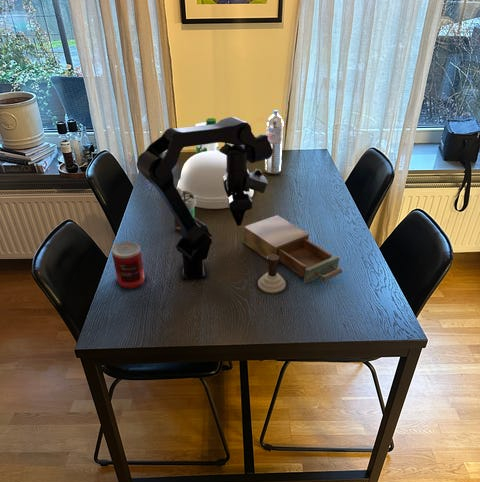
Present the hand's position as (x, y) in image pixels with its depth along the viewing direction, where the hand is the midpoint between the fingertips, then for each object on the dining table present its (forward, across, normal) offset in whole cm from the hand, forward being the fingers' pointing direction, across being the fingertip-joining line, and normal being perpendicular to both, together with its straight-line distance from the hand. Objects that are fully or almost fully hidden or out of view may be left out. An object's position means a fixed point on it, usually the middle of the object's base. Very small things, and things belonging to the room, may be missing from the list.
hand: (237, 217), depth 134 cm
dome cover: (+13, +47, +3) cm, 49 cm away
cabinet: (+13, +3, -13) cm, 19 cm away
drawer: (+12, -11, -21) cm, 26 cm away
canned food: (+13, -10, +32) cm, 36 cm away
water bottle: (+14, +63, -23) cm, 69 cm away
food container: (+8, +21, +14) cm, 26 cm away
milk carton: (+14, +71, +4) cm, 72 cm away
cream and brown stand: (+13, -17, -8) cm, 23 cm away
